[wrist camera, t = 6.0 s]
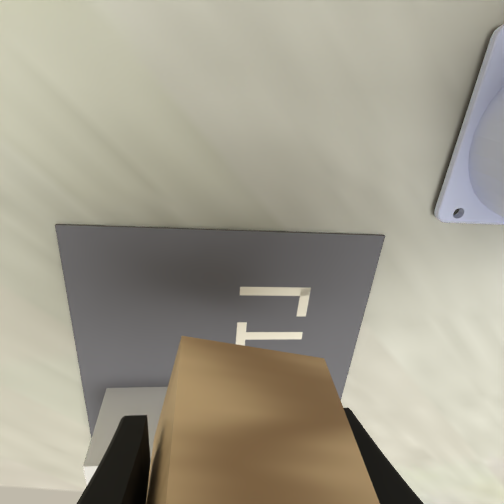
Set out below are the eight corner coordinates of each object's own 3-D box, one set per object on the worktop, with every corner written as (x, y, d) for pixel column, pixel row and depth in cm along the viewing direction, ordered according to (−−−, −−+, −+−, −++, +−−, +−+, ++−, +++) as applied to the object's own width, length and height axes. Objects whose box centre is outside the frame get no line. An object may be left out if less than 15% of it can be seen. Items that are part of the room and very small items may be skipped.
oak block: (324, 358, 12) (393, 539, 7) (278, 449, 14) (312, 637, 9) (181, 335, 11) (163, 529, 6) (153, 437, 13) (125, 642, 8)
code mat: (384, 235, 18) (385, 236, 18) (329, 438, 25) (329, 440, 25) (55, 224, 16) (54, 225, 16) (93, 448, 23) (93, 450, 23)
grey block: (189, 386, 21) (185, 462, 17) (188, 438, 23) (184, 516, 19) (106, 388, 21) (82, 466, 17) (113, 441, 23) (93, 522, 19)
